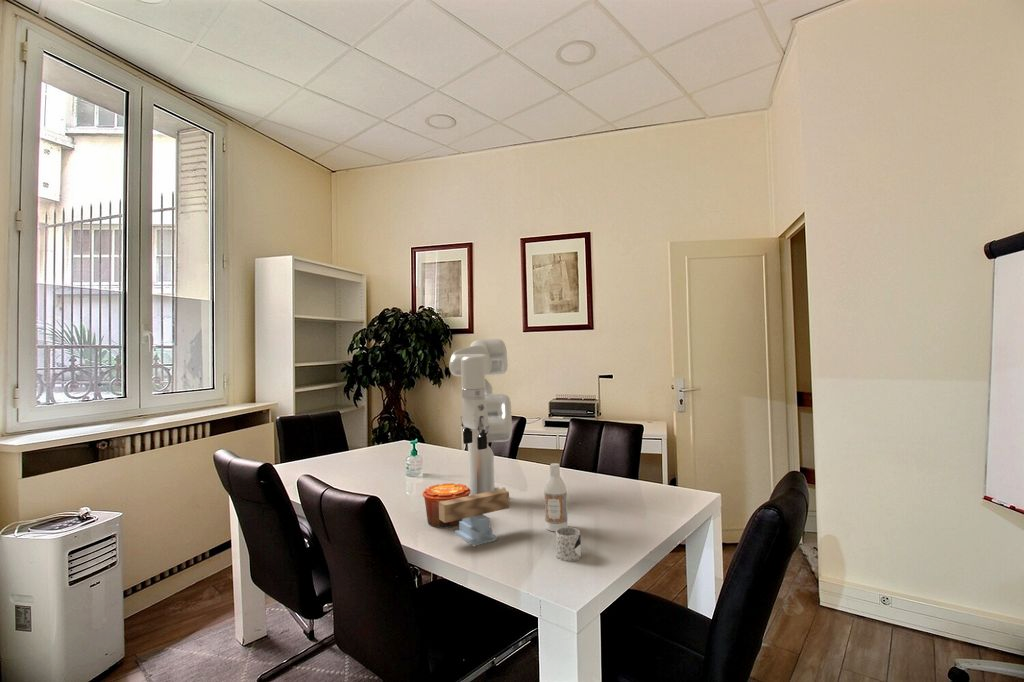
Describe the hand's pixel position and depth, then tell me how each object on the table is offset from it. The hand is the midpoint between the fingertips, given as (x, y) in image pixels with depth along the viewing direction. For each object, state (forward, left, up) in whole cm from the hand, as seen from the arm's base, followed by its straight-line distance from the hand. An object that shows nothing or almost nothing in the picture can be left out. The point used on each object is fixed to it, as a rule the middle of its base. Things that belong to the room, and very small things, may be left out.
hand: (474, 446), depth 155 cm
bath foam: (-19, +18, -26) cm, 36 cm away
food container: (+6, -9, -26) cm, 28 cm away
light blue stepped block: (+5, +9, -26) cm, 27 cm away
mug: (-10, +35, -26) cm, 44 cm away
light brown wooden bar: (+5, +9, -19) cm, 21 cm away
